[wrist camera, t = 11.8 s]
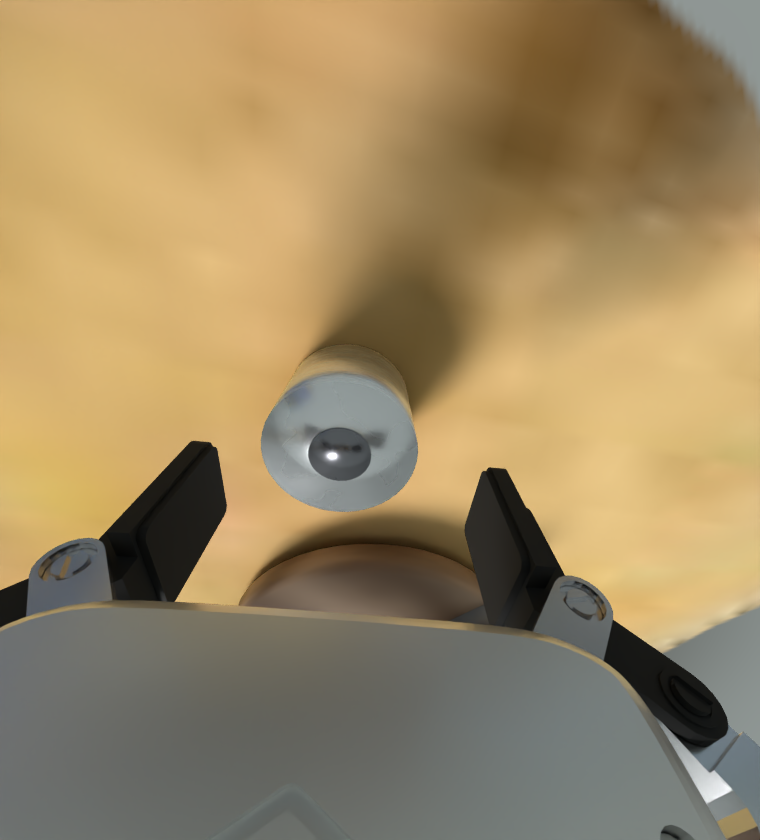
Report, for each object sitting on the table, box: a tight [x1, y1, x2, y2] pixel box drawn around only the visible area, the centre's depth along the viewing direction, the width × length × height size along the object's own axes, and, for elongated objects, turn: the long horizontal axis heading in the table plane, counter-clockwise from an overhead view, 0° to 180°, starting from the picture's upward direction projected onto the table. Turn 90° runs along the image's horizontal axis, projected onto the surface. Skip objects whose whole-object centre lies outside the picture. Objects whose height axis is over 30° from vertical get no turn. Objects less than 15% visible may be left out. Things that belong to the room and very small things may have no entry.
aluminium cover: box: [261, 344, 418, 512], centre depth 16 cm, size 6×6×5 cm
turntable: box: [238, 544, 489, 625], centre depth 26 cm, size 22×22×4 cm
